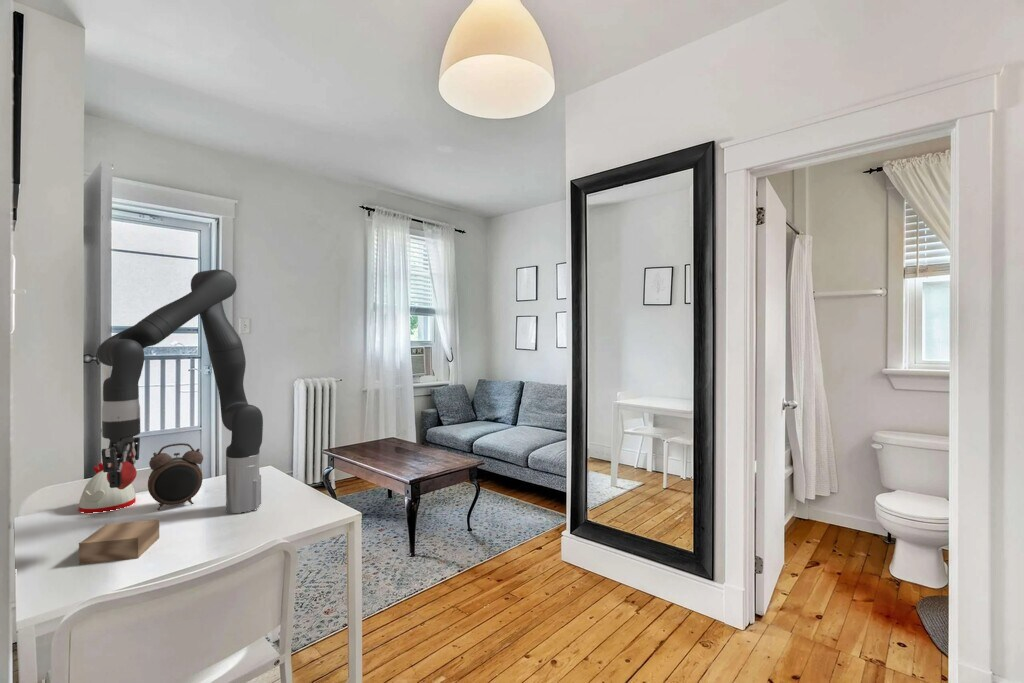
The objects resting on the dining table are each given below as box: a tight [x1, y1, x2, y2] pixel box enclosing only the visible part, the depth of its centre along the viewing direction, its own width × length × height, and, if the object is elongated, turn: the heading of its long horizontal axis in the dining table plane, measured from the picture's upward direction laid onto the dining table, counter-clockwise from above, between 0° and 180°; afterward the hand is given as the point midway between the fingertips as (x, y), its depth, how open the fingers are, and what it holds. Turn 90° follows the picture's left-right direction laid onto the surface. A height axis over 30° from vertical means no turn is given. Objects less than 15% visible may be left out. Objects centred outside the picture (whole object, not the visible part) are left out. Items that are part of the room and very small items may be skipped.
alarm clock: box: [147, 442, 204, 511], centre depth 152 cm, size 15×7×20 cm, turn 129°
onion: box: [107, 461, 138, 489], centre depth 121 cm, size 6×6×8 cm
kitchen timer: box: [78, 462, 137, 513], centre depth 152 cm, size 14×14×15 cm
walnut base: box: [78, 519, 160, 565], centre depth 121 cm, size 12×12×5 cm
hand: (122, 482), depth 121 cm, fingers closed on onion, 6 cm apart
